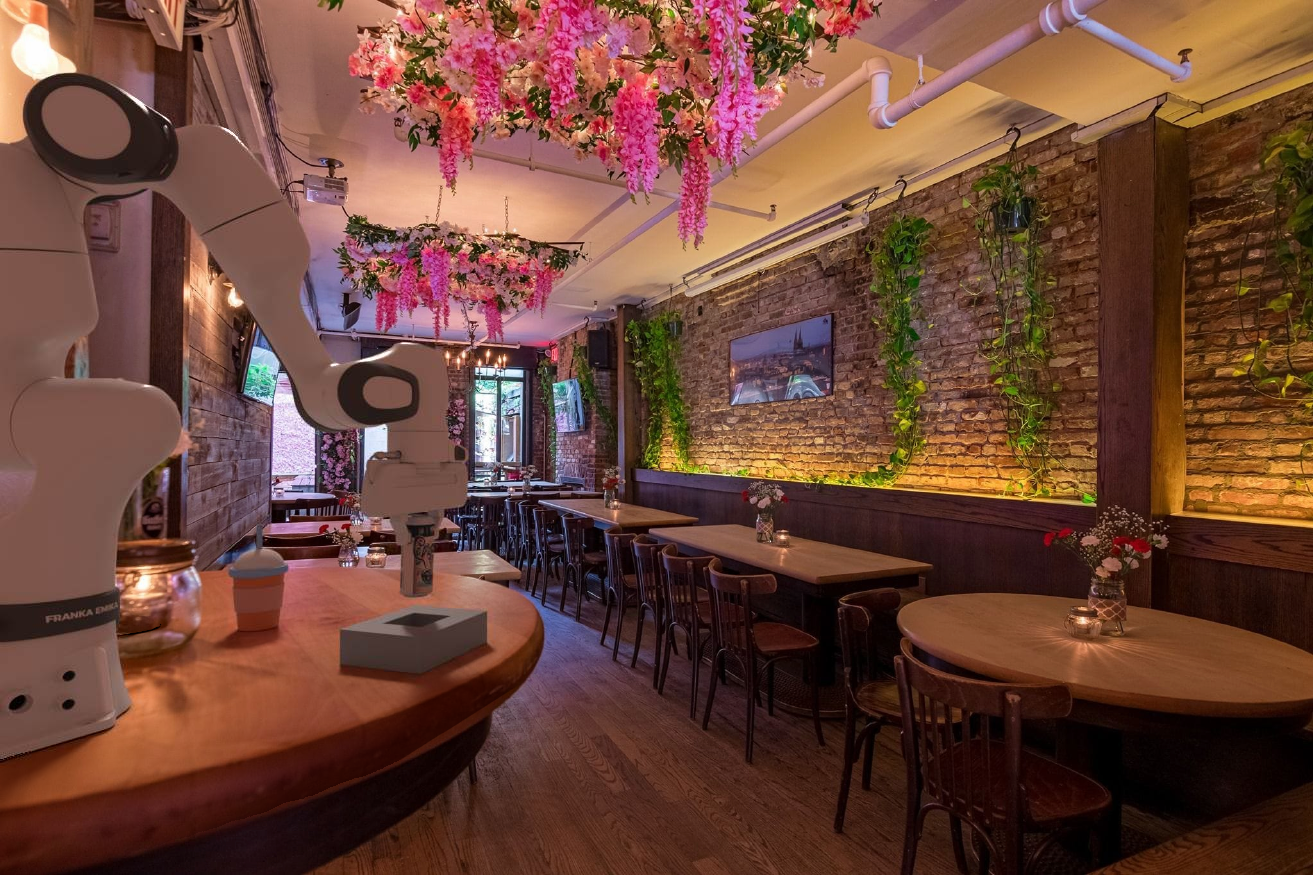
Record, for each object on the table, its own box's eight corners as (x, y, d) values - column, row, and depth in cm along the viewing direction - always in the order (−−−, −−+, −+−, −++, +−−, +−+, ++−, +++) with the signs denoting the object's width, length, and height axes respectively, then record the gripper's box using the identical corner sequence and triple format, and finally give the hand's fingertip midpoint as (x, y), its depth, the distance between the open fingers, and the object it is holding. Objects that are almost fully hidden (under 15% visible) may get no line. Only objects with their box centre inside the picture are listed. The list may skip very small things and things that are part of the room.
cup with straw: (232, 624, 117) (233, 523, 118) (290, 618, 121) (291, 521, 122) (223, 636, 109) (224, 528, 110) (285, 630, 113) (286, 525, 114)
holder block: (420, 674, 90) (420, 637, 90) (339, 664, 94) (339, 629, 94) (487, 642, 105) (487, 610, 105) (414, 635, 109) (414, 605, 109)
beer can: (421, 599, 97) (424, 518, 97) (392, 597, 98) (395, 516, 98) (438, 592, 102) (441, 515, 102) (410, 590, 103) (413, 513, 103)
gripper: (386, 451, 89) (385, 553, 89) (474, 450, 109) (474, 534, 108) (349, 451, 91) (349, 551, 91) (442, 450, 111) (442, 533, 110)
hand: (418, 541), depth 100 cm, fingers closed on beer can, 5 cm apart
